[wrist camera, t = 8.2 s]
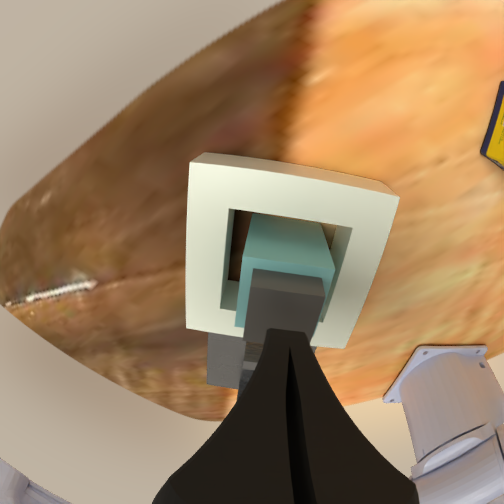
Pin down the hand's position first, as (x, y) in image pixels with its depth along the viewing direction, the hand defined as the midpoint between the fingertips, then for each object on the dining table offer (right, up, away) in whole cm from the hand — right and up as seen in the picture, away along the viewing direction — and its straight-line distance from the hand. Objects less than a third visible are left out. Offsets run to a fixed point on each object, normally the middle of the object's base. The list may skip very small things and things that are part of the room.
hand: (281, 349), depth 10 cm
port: (+1, +4, +7) cm, 8 cm away
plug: (+1, +4, +8) cm, 9 cm away
